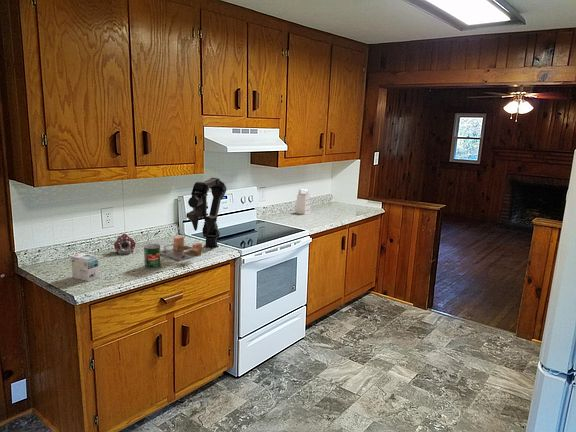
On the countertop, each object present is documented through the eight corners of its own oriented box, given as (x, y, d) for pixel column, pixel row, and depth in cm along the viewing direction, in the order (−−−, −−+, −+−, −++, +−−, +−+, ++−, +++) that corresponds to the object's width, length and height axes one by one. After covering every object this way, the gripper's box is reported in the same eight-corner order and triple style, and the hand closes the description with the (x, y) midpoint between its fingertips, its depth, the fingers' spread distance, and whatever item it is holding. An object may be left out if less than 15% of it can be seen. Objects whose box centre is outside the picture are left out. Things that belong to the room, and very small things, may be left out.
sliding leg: (180, 247, 257) (180, 236, 256) (183, 248, 256) (183, 237, 254) (162, 252, 247) (162, 240, 245) (166, 253, 245) (166, 241, 244)
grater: (300, 210, 382) (301, 188, 378) (310, 212, 377) (312, 189, 373) (294, 212, 373) (295, 189, 369) (305, 214, 368) (306, 190, 364)
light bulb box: (100, 277, 206) (99, 255, 204) (88, 281, 200) (87, 259, 198) (83, 273, 210) (82, 252, 208) (71, 277, 204) (70, 255, 202)
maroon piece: (114, 252, 236) (113, 232, 241) (114, 259, 246) (112, 240, 250) (136, 250, 241) (135, 231, 246) (135, 258, 250) (133, 238, 255)
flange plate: (167, 250, 251) (167, 249, 251) (191, 258, 240) (191, 256, 240) (155, 253, 245) (155, 252, 245) (180, 261, 234) (180, 259, 234)
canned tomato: (154, 263, 229) (153, 243, 227) (163, 266, 225) (163, 245, 222) (141, 266, 223) (140, 246, 220) (151, 270, 218) (150, 249, 216)
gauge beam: (178, 247, 258) (178, 237, 257) (202, 254, 247) (202, 243, 246) (160, 252, 248) (160, 241, 247) (185, 259, 237) (185, 248, 235)
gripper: (178, 204, 243) (179, 231, 246) (202, 209, 232) (202, 237, 235) (193, 201, 252) (193, 228, 255) (217, 206, 241) (217, 233, 244)
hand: (201, 231), depth 247 cm, fingers open, 9 cm apart
